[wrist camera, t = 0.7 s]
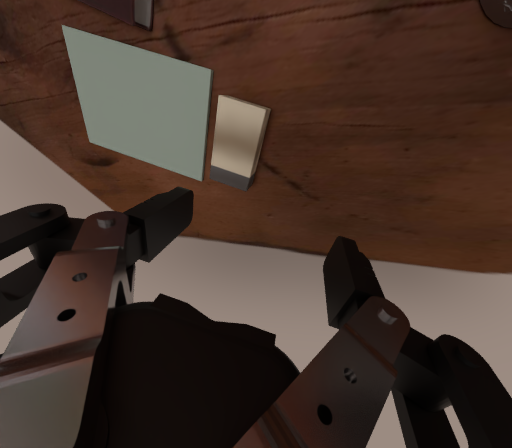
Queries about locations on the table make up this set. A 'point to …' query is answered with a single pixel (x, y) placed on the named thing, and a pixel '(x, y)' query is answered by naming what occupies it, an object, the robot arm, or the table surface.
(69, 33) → the rubber mat
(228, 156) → the cream rectangular block
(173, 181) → the table surface
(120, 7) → the book
